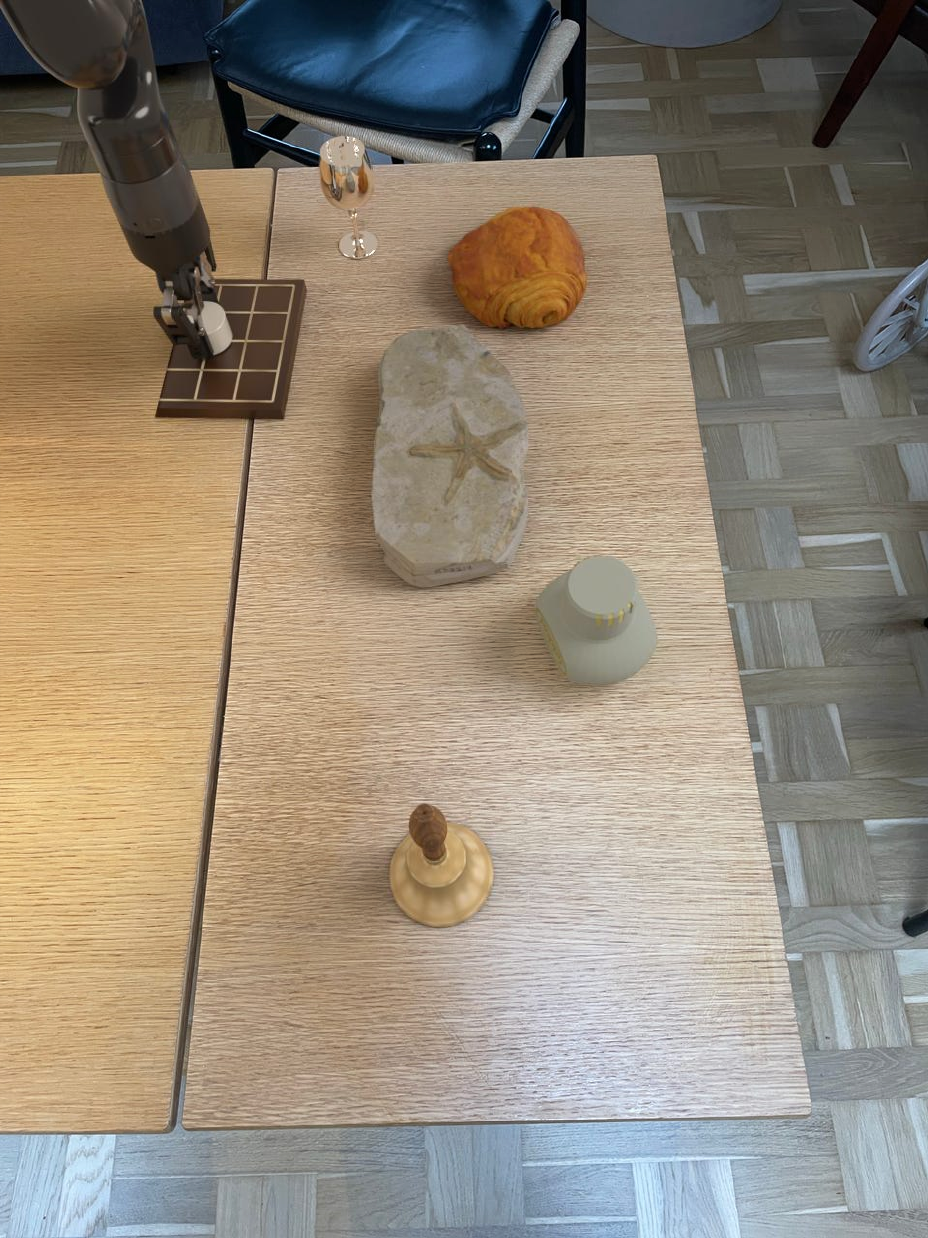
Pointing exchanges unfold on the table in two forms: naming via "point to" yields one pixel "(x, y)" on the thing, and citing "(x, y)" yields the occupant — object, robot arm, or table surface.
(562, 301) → the croissant
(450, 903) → the hand bell
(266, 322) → the grid board
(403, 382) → the fossil stone
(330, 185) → the wineglass
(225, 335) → the white short cylinder
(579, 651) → the air freshener
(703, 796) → the table surface
